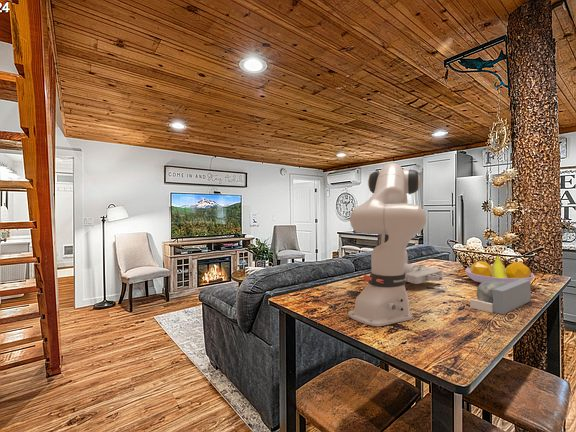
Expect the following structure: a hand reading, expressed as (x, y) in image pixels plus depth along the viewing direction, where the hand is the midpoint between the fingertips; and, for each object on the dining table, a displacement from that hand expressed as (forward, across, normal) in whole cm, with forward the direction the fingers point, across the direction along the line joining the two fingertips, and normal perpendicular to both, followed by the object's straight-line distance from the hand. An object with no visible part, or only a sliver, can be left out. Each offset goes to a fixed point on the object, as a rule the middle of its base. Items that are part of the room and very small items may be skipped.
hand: (440, 278), depth 129 cm
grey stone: (+21, 0, +5) cm, 22 cm away
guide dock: (+24, 0, +5) cm, 24 cm away
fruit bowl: (+10, +31, +6) cm, 33 cm away
